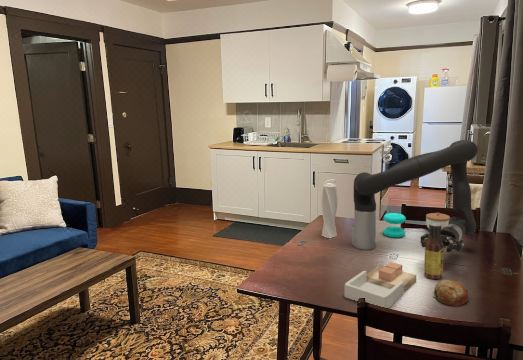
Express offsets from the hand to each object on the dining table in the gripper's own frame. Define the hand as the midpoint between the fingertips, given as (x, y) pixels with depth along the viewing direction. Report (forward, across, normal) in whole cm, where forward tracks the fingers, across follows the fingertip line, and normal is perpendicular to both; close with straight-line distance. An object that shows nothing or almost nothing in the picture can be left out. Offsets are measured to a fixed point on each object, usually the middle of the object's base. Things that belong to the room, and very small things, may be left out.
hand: (435, 247), depth 141 cm
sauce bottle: (0, 0, +11) cm, 11 cm away
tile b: (+17, -10, +8) cm, 22 cm away
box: (+27, -10, +11) cm, 31 cm away
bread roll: (+13, +10, +11) cm, 20 cm away
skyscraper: (-13, -53, +11) cm, 56 cm away
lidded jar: (-52, -16, +11) cm, 55 cm away
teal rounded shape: (-34, -30, +11) cm, 46 cm away
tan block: (+12, -10, +8) cm, 18 cm away
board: (+14, -10, +11) cm, 21 cm away
